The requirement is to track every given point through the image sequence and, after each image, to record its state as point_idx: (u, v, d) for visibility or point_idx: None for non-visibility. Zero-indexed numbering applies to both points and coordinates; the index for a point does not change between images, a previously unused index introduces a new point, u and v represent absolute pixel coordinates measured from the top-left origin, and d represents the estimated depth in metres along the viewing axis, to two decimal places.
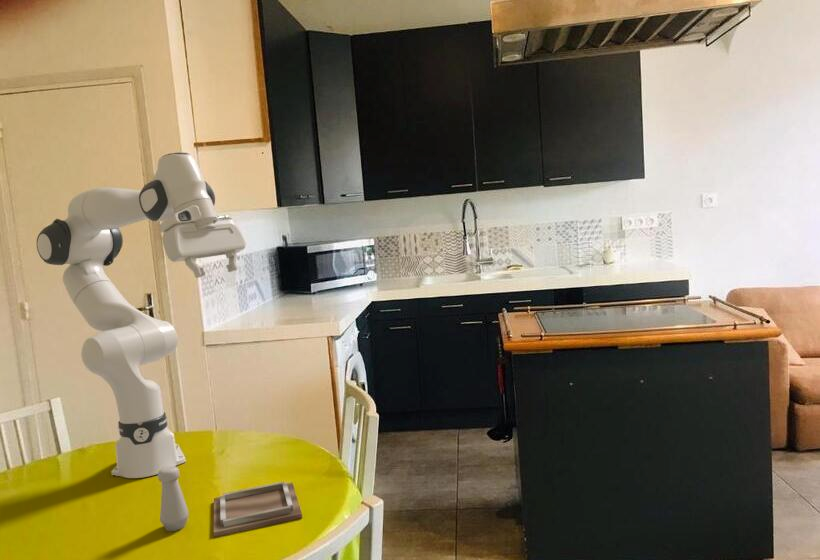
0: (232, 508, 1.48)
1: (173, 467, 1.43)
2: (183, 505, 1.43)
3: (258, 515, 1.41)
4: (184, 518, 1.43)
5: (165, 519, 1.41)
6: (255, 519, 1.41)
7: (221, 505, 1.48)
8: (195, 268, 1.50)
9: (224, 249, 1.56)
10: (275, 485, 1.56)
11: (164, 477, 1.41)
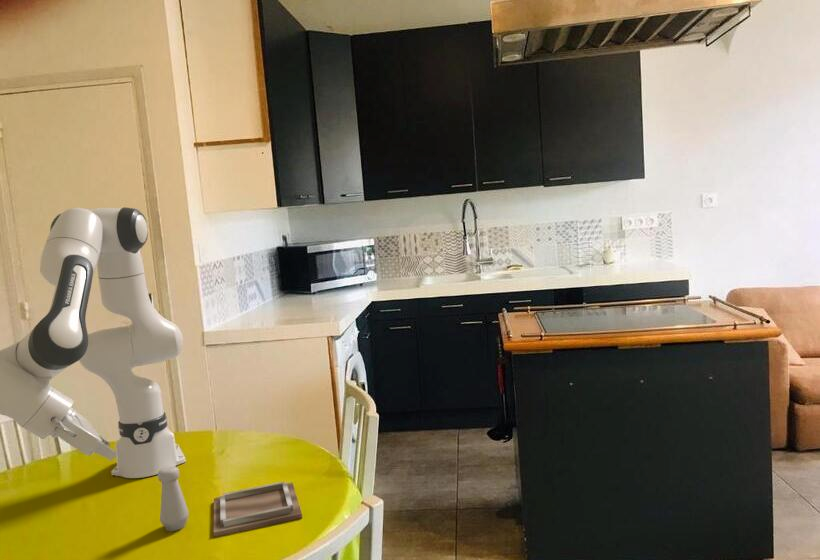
0: (232, 508, 1.48)
1: (173, 467, 1.43)
2: (183, 505, 1.43)
3: (258, 515, 1.41)
4: (184, 518, 1.43)
5: (165, 519, 1.41)
6: (255, 519, 1.41)
7: (221, 505, 1.48)
8: None
9: None
10: (275, 485, 1.56)
11: (164, 477, 1.41)
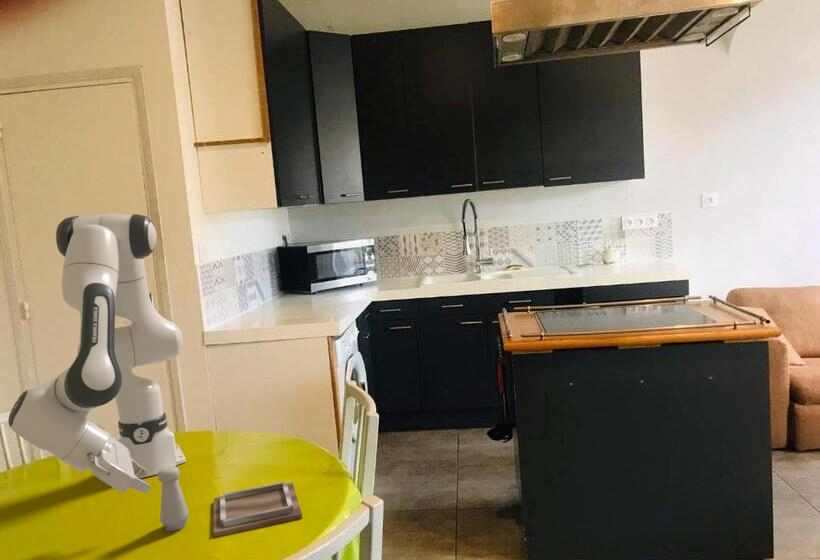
0: (232, 508, 1.48)
1: (173, 467, 1.43)
2: (183, 505, 1.43)
3: (258, 515, 1.41)
4: (184, 518, 1.43)
5: (165, 519, 1.41)
6: (255, 519, 1.41)
7: (221, 505, 1.48)
8: None
9: None
10: (275, 485, 1.56)
11: (164, 477, 1.41)
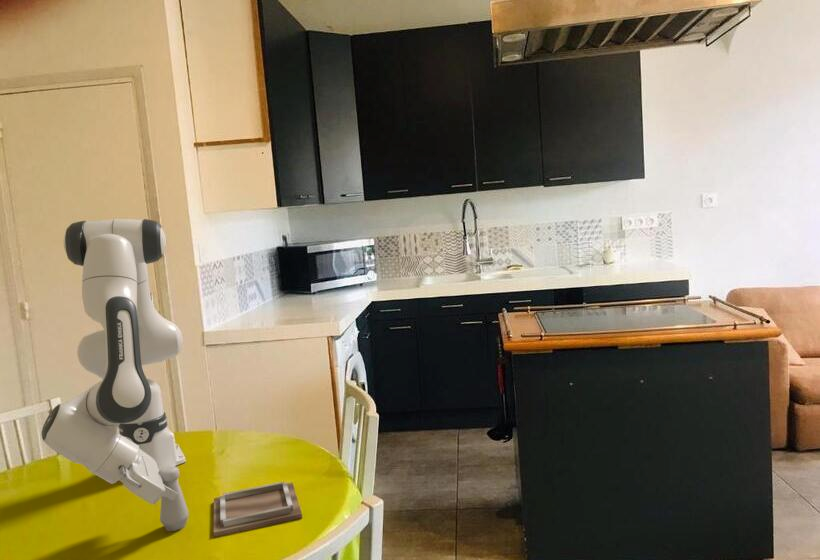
0: (232, 508, 1.48)
1: (173, 467, 1.43)
2: (183, 505, 1.43)
3: (258, 515, 1.41)
4: (184, 518, 1.43)
5: (165, 519, 1.41)
6: (255, 519, 1.41)
7: (221, 505, 1.48)
8: None
9: None
10: (275, 485, 1.56)
11: (164, 477, 1.41)
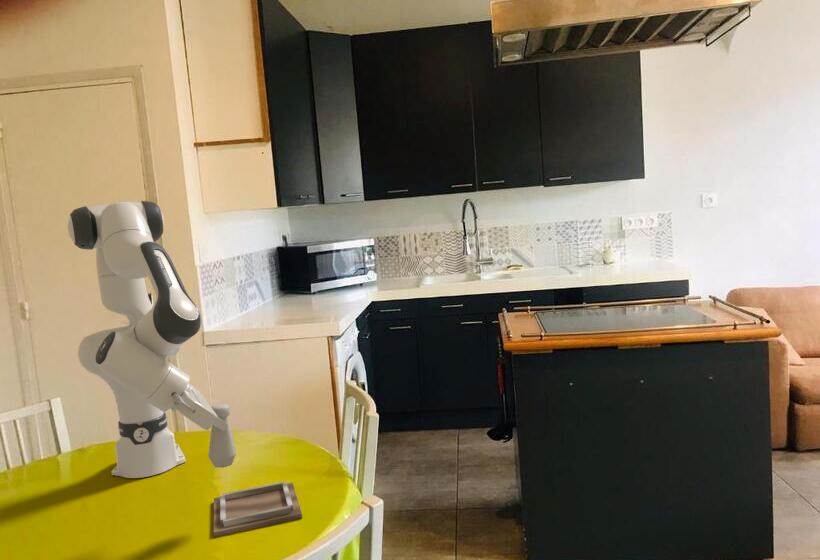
0: (232, 508, 1.48)
1: (224, 404, 1.45)
2: (232, 443, 1.45)
3: (258, 515, 1.41)
4: (232, 455, 1.44)
5: (214, 455, 1.43)
6: (255, 519, 1.41)
7: (221, 505, 1.48)
8: None
9: None
10: (275, 485, 1.56)
11: (216, 413, 1.43)
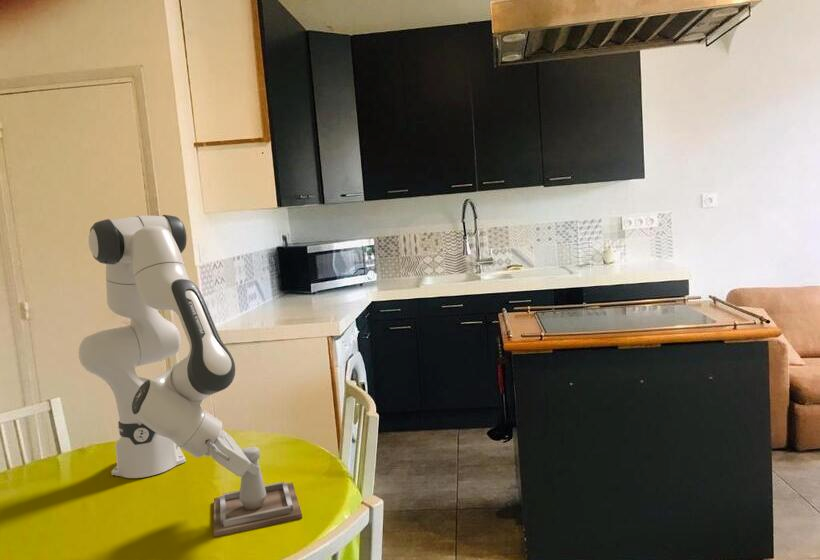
0: (232, 508, 1.48)
1: (254, 447, 1.48)
2: (262, 485, 1.48)
3: (258, 515, 1.41)
4: (263, 497, 1.47)
5: (246, 498, 1.45)
6: (255, 519, 1.41)
7: (221, 505, 1.48)
8: None
9: None
10: (275, 485, 1.56)
11: (247, 456, 1.45)
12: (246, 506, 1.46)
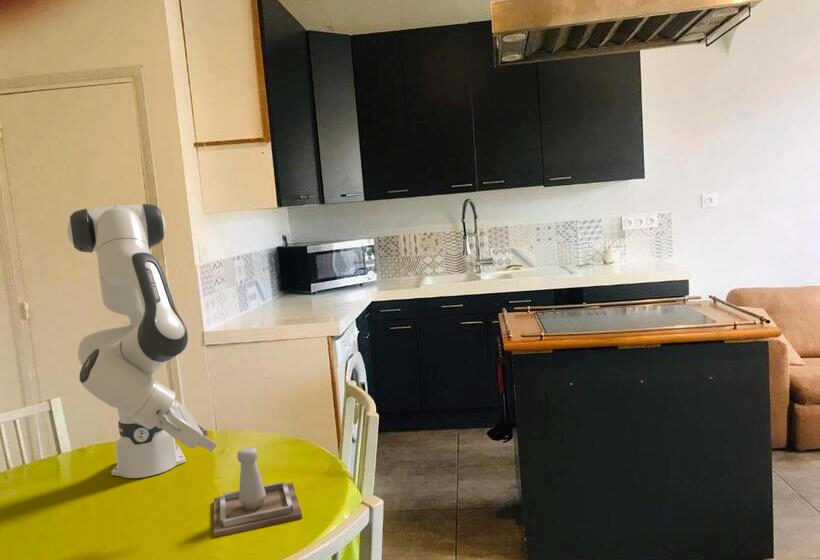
0: (232, 508, 1.48)
1: (251, 448, 1.47)
2: (261, 485, 1.47)
3: (258, 515, 1.41)
4: (263, 497, 1.47)
5: (245, 498, 1.45)
6: (255, 519, 1.41)
7: (221, 505, 1.48)
8: None
9: None
10: (275, 485, 1.56)
11: (245, 457, 1.45)
12: (246, 507, 1.46)
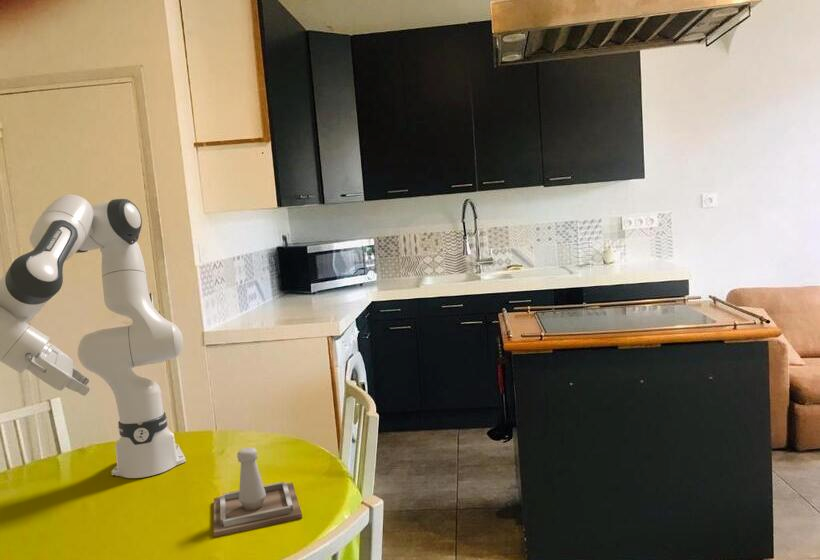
0: (232, 508, 1.48)
1: (251, 448, 1.47)
2: (261, 485, 1.47)
3: (258, 515, 1.41)
4: (263, 497, 1.47)
5: (245, 498, 1.45)
6: (255, 519, 1.41)
7: (221, 505, 1.48)
8: None
9: None
10: (275, 485, 1.56)
11: (245, 457, 1.45)
12: (246, 507, 1.46)
